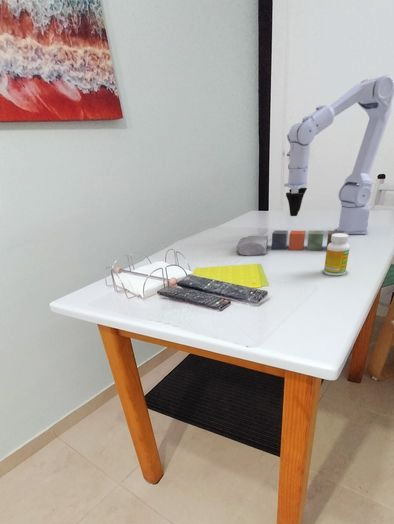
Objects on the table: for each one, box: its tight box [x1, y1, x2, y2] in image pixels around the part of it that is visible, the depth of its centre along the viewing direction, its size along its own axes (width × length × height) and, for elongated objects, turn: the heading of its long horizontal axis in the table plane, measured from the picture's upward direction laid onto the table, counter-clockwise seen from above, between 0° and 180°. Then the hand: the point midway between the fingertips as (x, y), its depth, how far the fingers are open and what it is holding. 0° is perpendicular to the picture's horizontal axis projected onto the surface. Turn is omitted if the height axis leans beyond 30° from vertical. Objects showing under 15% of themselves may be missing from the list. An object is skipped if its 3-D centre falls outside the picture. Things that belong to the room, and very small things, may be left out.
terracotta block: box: [288, 230, 306, 251], centre depth 109 cm, size 4×4×5 cm
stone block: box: [236, 234, 269, 257], centre depth 111 cm, size 12×5×10 cm
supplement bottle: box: [323, 233, 351, 277], centre depth 87 cm, size 5×5×10 cm
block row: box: [271, 229, 344, 251], centre depth 108 cm, size 21×4×5 cm, turn 70°
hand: (295, 213), depth 113 cm, fingers open, 7 cm apart
